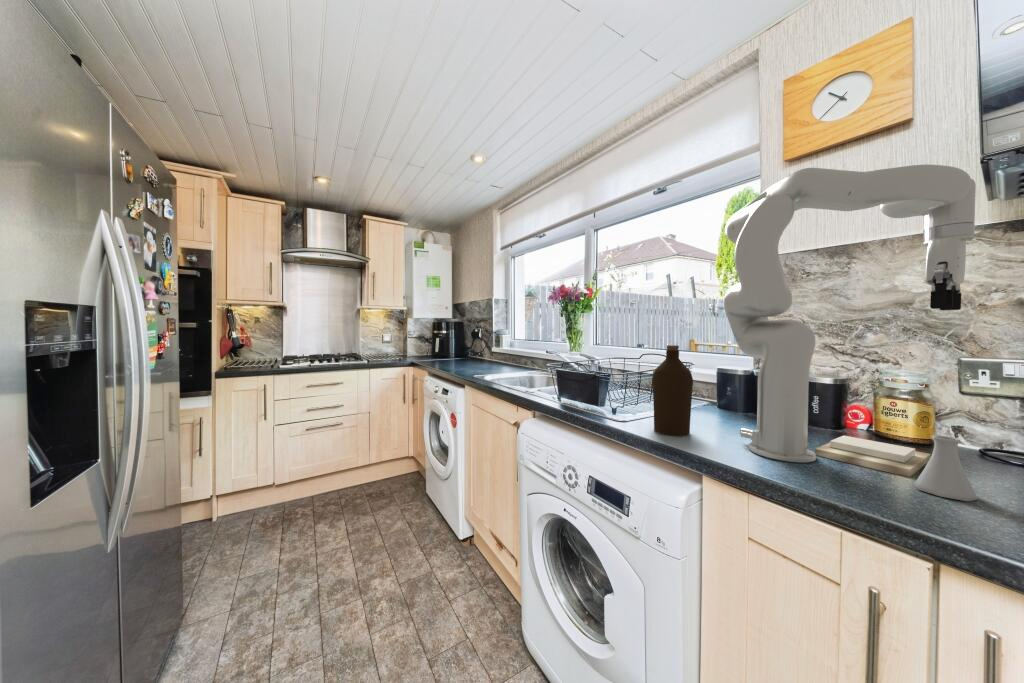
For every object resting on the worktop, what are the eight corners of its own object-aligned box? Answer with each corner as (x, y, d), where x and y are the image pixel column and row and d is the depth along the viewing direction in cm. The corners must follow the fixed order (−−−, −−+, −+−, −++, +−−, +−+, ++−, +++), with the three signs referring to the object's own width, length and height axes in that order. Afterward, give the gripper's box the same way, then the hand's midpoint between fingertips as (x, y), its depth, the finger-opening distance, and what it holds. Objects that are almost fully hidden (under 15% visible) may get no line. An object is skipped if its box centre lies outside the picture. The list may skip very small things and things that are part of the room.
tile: (843, 441, 89) (829, 447, 84) (843, 435, 89) (830, 440, 84) (915, 455, 78) (904, 463, 74) (915, 448, 78) (904, 455, 74)
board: (814, 455, 83) (815, 448, 83) (842, 443, 92) (842, 437, 92) (909, 477, 70) (909, 469, 70) (930, 460, 80) (930, 453, 80)
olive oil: (667, 438, 96) (668, 346, 96) (644, 428, 106) (645, 345, 106) (700, 435, 98) (702, 346, 98) (675, 426, 109) (676, 344, 108)
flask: (917, 481, 68) (918, 430, 68) (979, 495, 62) (981, 439, 62) (910, 490, 64) (912, 435, 64) (976, 506, 58) (978, 446, 58)
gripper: (931, 244, 90) (929, 311, 90) (914, 233, 81) (912, 308, 81) (980, 237, 84) (978, 309, 84) (967, 225, 75) (965, 306, 75)
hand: (945, 309), depth 83 cm, fingers open, 9 cm apart
